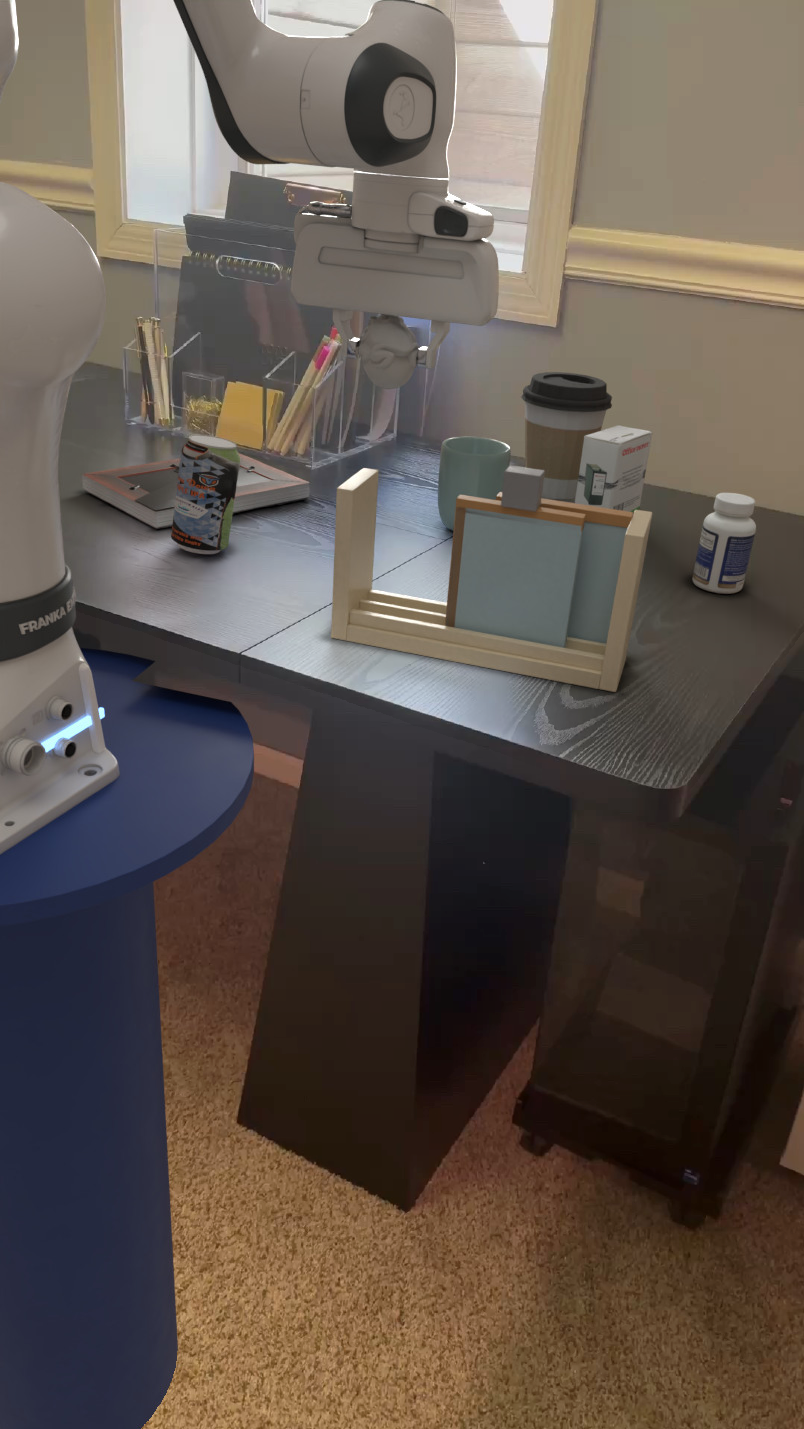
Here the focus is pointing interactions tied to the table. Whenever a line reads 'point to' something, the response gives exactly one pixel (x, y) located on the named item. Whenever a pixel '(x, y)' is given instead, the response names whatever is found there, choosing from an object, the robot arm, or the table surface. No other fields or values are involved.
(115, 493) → the picture frame
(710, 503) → the table surface
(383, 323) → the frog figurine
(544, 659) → the window frame
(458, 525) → the window pane
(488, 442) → the cup
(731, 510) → the pill bottle
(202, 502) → the beverage can
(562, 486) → the coffee cup
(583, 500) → the ink box
